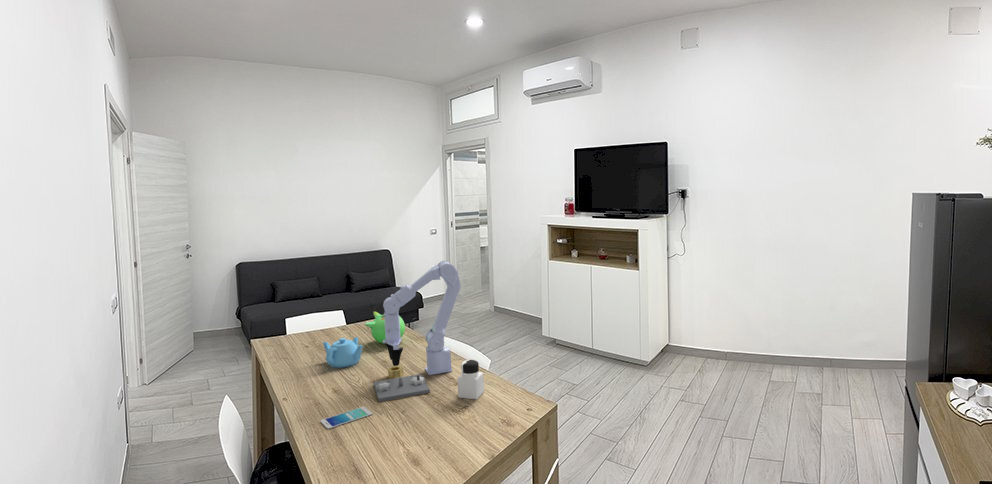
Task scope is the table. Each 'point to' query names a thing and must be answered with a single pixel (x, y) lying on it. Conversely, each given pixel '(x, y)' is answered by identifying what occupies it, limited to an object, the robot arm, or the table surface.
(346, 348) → the teapot
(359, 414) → the smartphone
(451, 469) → the table surface
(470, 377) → the medicine bottle
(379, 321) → the toy bird
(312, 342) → the table surface
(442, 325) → the robot arm
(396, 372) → the brass gear
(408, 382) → the gear board
